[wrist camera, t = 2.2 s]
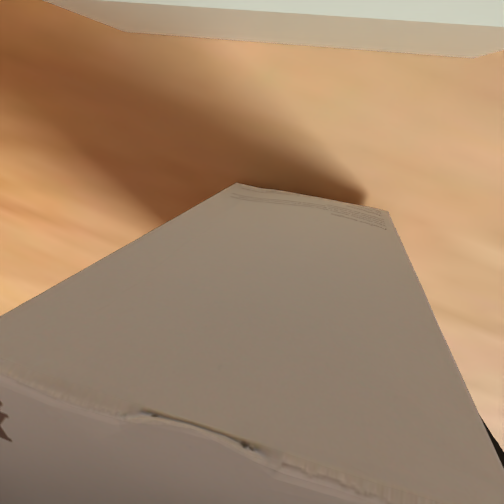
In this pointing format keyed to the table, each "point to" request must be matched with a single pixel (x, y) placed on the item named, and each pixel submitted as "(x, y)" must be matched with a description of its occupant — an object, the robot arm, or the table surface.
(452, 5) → the box
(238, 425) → the skincare box
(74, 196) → the table surface
